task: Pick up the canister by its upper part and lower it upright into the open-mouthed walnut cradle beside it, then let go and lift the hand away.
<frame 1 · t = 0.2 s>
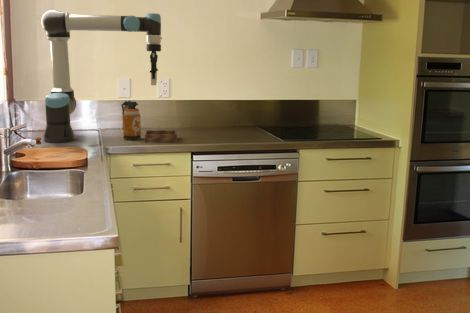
hand: (153, 84, 292), 28 cm above the counter, tool pointing down, fingers open, 13 cm apart
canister: (130, 139, 287), on the counter
cradle: (161, 140, 285), on the counter
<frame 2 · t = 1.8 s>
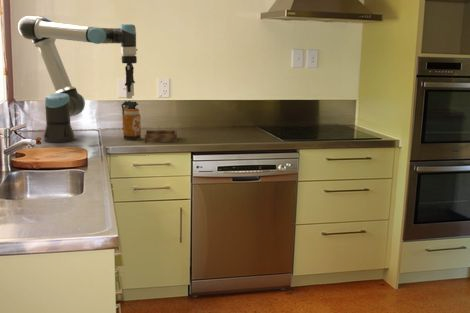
hand: (130, 97, 282), 22 cm above the counter, tool pointing down, fingers open, 13 cm apart
nothing on the counter moved.
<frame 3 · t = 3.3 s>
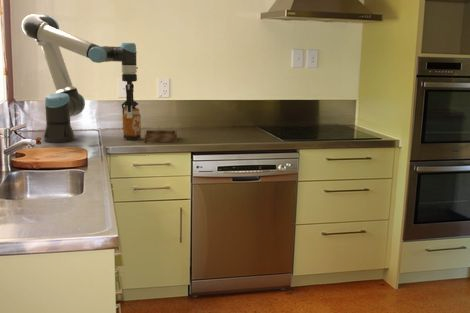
hand: (130, 116, 284), 12 cm above the counter, tool pointing down, fingers open, 10 cm apart
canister: (130, 138, 287), on the counter, touching gripper
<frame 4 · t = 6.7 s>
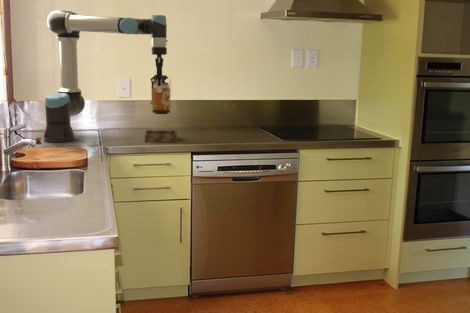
hand: (159, 91, 279), 25 cm above the counter, tool pointing down, fingers closed on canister, 9 cm apart
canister: (159, 113, 282), point 14 cm above the counter, touching gripper
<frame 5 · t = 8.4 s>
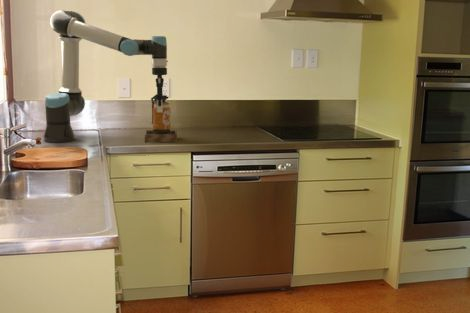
hand: (160, 111, 282), 15 cm above the counter, tool pointing down, fingers closed on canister, 9 cm apart
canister: (160, 133, 284), point 4 cm above the counter, touching gripper
when the fingers open (14 cm above the counter, at t = 9.6 s): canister drops 1 cm, resting on cradle.
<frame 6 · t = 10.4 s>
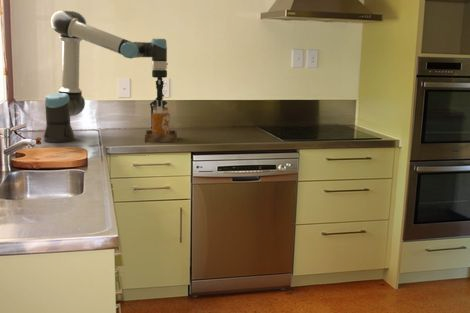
hand: (160, 111, 282), 15 cm above the counter, tool pointing down, fingers open, 13 cm apart
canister: (159, 138, 285), point 1 cm above the counter, touching cradle
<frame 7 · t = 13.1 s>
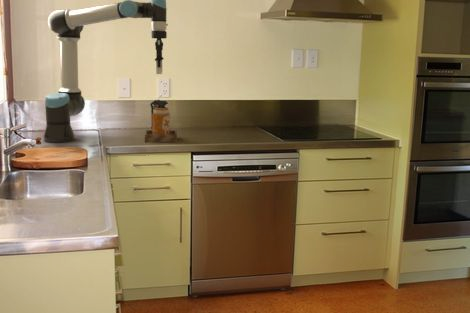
hand: (159, 73, 277), 35 cm above the counter, tool pointing down, fingers open, 13 cm apart
nothing on the counter moved.
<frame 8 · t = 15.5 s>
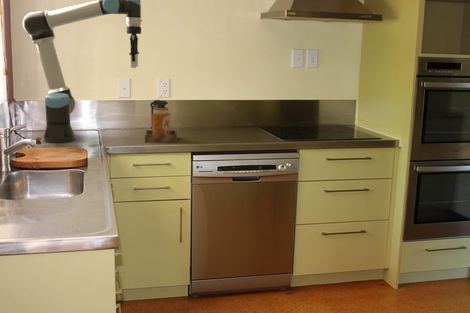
hand: (134, 67, 290), 37 cm above the counter, tool pointing down, fingers open, 13 cm apart
nothing on the counter moved.
at the end: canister 0.5 cm off-centre on the cradle, point 0.8 cm above the cradle's base; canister tilted 0°; the gripper is holding nothing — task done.
